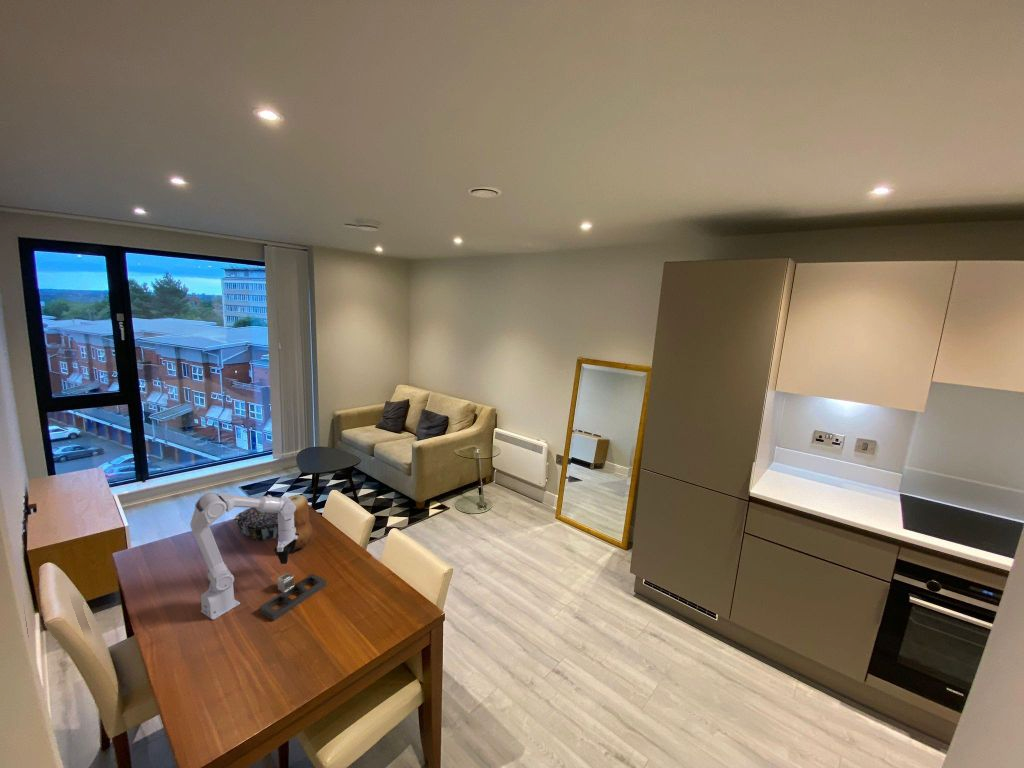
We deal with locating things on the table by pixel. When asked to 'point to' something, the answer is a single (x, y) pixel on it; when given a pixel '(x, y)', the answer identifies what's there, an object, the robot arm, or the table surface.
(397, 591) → the table surface
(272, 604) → the rack rail
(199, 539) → the robot arm
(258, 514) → the decorative bowl
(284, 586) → the block
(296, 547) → the butternut squash
